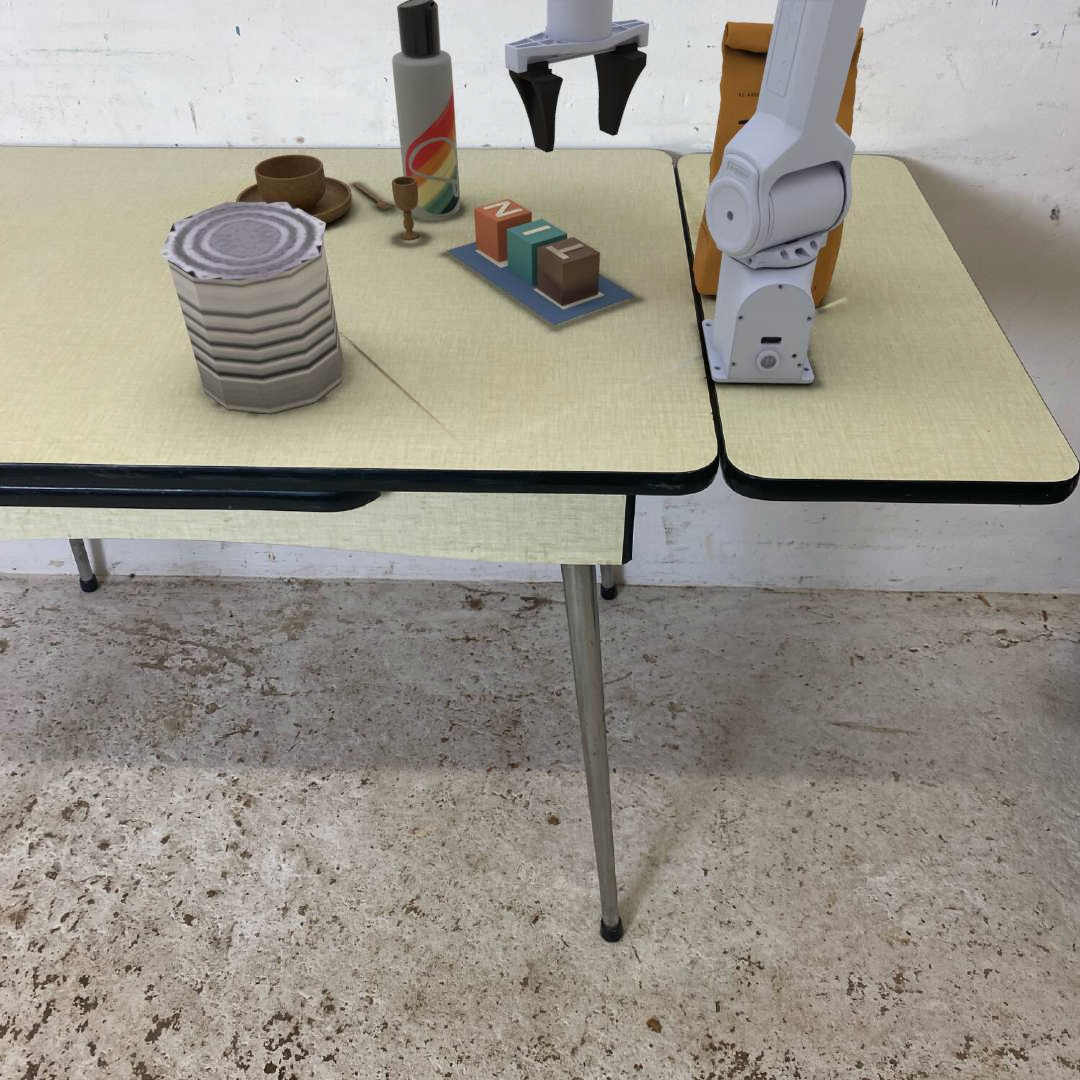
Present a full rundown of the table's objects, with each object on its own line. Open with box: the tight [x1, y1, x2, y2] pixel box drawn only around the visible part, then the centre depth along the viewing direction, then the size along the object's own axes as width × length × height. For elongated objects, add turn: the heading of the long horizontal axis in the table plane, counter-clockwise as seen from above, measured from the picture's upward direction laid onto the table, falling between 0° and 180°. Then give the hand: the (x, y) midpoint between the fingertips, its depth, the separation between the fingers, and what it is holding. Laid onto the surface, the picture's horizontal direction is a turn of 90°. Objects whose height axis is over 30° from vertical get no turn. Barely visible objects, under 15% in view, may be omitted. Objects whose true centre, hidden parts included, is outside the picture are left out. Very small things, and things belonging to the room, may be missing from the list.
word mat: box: [446, 241, 636, 326], centre depth 89 cm, size 18×9×1 cm, turn 35°
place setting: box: [235, 154, 421, 242], centre depth 96 cm, size 18×20×6 cm
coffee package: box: [692, 20, 864, 308], centre depth 80 cm, size 10×12×22 cm
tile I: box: [507, 218, 568, 285], centre depth 87 cm, size 4×4×4 cm
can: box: [159, 201, 344, 415], centre depth 72 cm, size 11×11×12 cm
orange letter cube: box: [473, 198, 533, 262], centre depth 91 cm, size 4×4×4 cm
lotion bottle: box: [391, 0, 461, 219], centre depth 94 cm, size 6×6×20 cm
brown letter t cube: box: [537, 236, 601, 306], centre depth 84 cm, size 4×4×4 cm
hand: (576, 140), depth 89 cm, fingers open, 7 cm apart
